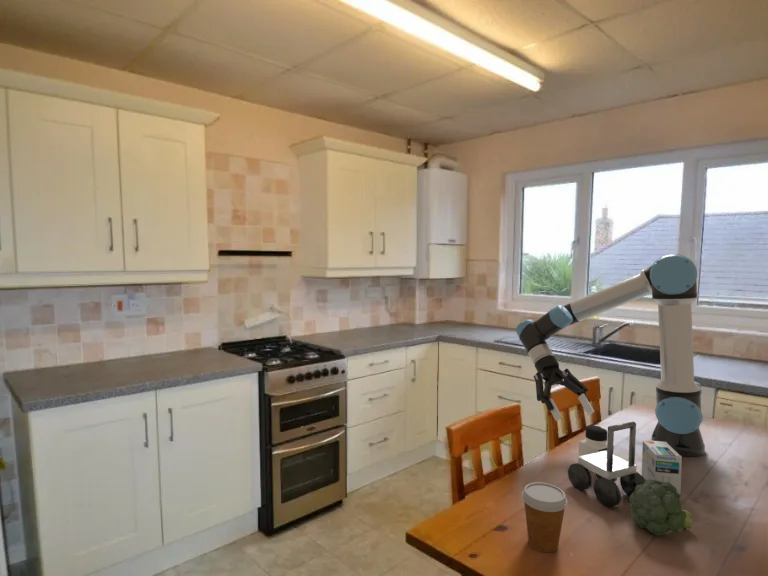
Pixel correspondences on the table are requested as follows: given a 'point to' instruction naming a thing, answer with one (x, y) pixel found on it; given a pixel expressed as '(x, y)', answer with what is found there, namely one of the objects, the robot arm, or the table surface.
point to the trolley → (608, 470)
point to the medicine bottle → (593, 440)
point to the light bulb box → (661, 463)
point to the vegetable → (659, 508)
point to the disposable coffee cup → (544, 515)
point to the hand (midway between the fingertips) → (575, 416)
